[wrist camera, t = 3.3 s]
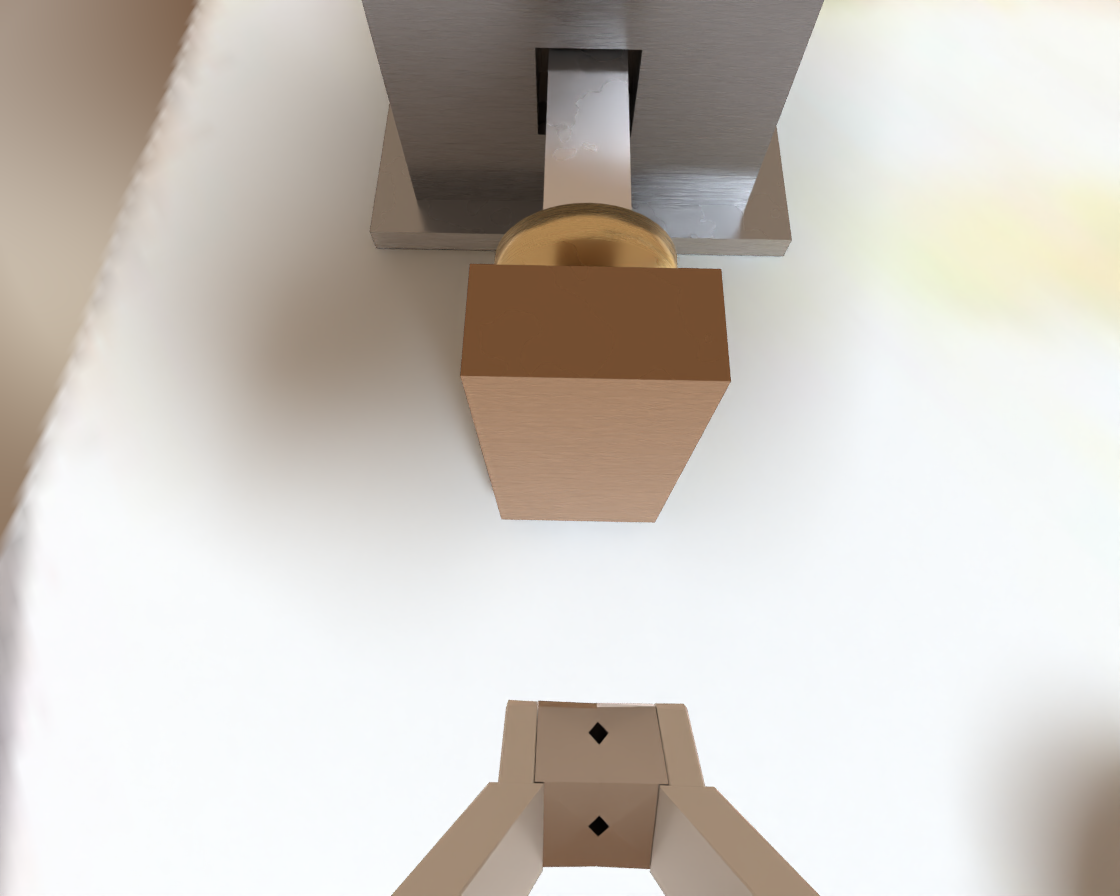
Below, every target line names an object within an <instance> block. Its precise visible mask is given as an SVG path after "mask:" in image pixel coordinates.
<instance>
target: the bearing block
mask: <svg viewBox="0 0 1120 896" xmlns="http://www.w3.org/2000/svg"><path fill="white" fill-rule="evenodd" d="M823 2H824V0H362V3H363V7H364V11H365V14H366V18H367V22H368V25H369V29H370V32H371V36H372V40H373V43H374V47H375V51H376V54H377V58H378V62H379V65H380V69H381V73H382V76H383V80H384V83H385V87H386V91H387V94H388V98H389V102H390V104H389V111H388V117H387V124H386V130H385V137H384V143H383V150H382V156H381V163H380V169H379V175H378V182H377V188H376V195H375V201H374V208H373V214H372V221H371V227H370V233H371V236H372V238H373V241H374V244H375V246H376V248H403V249H453V250H496V249H497V247H498V244H499V242H500V241H501V239H502V238H503V236H504V235H505V234H506V233H507V231H508V230H509V229H510V228H511V227H513V226H514V225H515V224H516V223H518V222H519V221H521V220H522V219H524V218H526V217H527V216H529V215H532V214H534V213H536V212H538V211H541V210H543V202H544V174H545V146H546V119H547V91H548V63H549V48H582V49H627V51H628V90H629V129H630V168H631V207H632V211H635V212H637V213H640V214H642V215H644V216H646V217H647V218H649V219H651V220H652V221H654V222H655V223H657V224H658V225H659V226H660V227H661V228H662V229H663V230H664V231H665V232H666V233H667V234H668V235H669V237H670V238H671V240H672V242H673V244H674V246H675V249H676V253H677V254H701V255H751V256H784V254H785V252H786V250H787V248H788V246H789V244H790V242H791V240H792V238H791V231H790V223H789V216H788V209H787V201H786V194H785V186H784V179H783V172H782V164H781V157H780V149H779V142H778V134H777V127H776V125H777V123H778V120H779V117H780V115H781V112H782V109H783V107H784V104H785V102H786V99H787V96H788V94H789V91H790V88H791V86H792V83H793V81H794V78H795V75H796V73H797V70H798V67H799V65H800V62H801V60H802V57H803V54H804V52H805V49H806V46H807V44H808V41H809V38H810V36H811V33H812V31H813V28H814V25H815V23H816V20H817V17H818V15H819V12H820V10H821V7H822V4H823Z"/></svg>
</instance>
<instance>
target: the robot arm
mask: <svg viewBox="0 0 1120 896" xmlns="http://www.w3.org/2000/svg"><path fill="white" fill-rule="evenodd" d="M587 866H597V867H618V868H638V869H650V873H651V874H652V876H653V877H654V879H655V880H656V882H657V883H658V885H659V887H660V888H661V890H662V891H663V893H664V894H665V896H820V895H819V894H818V893H817V892H816V891H815V890H814V889H813V888H812V887H811V886H810V885H809V884H808V883H807V882H806V881H805V880H804V879H803V878H802V877H801V876H800V875H799V874H798V873H797V872H796V871H795V870H794V868H793V867H792V866H791V865H790V864H789V863H788V862H787V861H786V860H785V859H784V858H783V857H782V856H781V855H780V854H779V853H778V852H777V851H776V850H775V849H774V848H773V847H772V846H771V845H770V844H769V843H768V842H767V841H766V840H765V839H764V838H763V837H762V836H761V834H760V833H759V832H758V831H757V830H756V829H755V828H754V827H753V826H752V825H751V824H750V823H749V822H748V821H747V820H746V819H745V818H744V817H743V816H742V815H741V814H740V813H739V812H738V811H737V810H736V809H735V808H734V807H733V806H732V805H731V804H730V803H729V802H728V800H727V799H726V798H725V797H724V796H723V795H722V794H721V793H720V792H719V791H718V790H717V789H716V788H715V787H706V786H705V784H704V779H703V775H702V771H701V766H700V762H699V758H698V753H697V749H696V745H695V741H694V736H693V732H692V728H691V723H690V719H689V715H688V710H687V708H686V706H685V705H684V704H654V705H653V704H642V703H575V702H553V701H538V702H537V701H517V700H508V703H507V706H506V714H505V723H504V732H503V742H502V751H501V760H500V770H499V779H498V782H489V783H488V784H487V786H486V787H485V788H484V789H483V790H482V791H481V792H480V794H479V795H478V796H477V797H476V798H475V799H474V801H473V802H472V803H471V804H470V805H469V806H468V807H467V809H466V810H465V811H464V812H463V813H462V814H461V816H460V817H459V818H458V819H457V820H456V821H455V823H454V824H453V825H452V826H451V827H450V828H449V829H448V831H447V832H446V833H445V834H444V835H443V836H442V838H441V839H440V840H439V841H438V842H437V843H436V845H435V846H434V847H433V848H432V849H431V850H430V851H429V853H428V854H427V855H426V856H425V857H424V858H423V860H422V861H421V862H420V863H419V864H418V865H417V866H416V868H415V869H414V870H413V871H412V872H411V873H410V875H409V876H408V877H407V878H406V879H405V880H404V882H403V883H402V884H401V885H400V886H399V887H398V888H397V890H396V891H395V892H394V893H393V894H392V895H391V896H528V895H529V893H530V891H531V890H532V888H533V886H534V885H535V883H536V881H537V879H538V878H539V876H540V874H541V873H542V871H543V867H587Z"/></svg>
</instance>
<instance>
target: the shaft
mask: <svg viewBox="0 0 1120 896" xmlns="http://www.w3.org/2000/svg"><path fill="white" fill-rule="evenodd" d="M460 376H461V380H462V383H463V387H464V390H465V394H466V397H467V401H468V404H469V408H470V411H471V415H472V418H473V422H474V425H475V429H476V432H477V436H478V439H479V443H480V446H481V450H482V453H483V456H484V460H485V463H486V467H487V470H488V474H489V477H490V481H491V484H492V488H493V491H494V495H495V498H496V502H497V505H498V509H499V512H500V516H501V519H510V520H559V521H607V522H655V521H656V519H657V517H658V515H659V514H660V512H661V510H662V508H663V506H664V504H665V503H666V501H667V499H668V497H669V495H670V493H671V491H672V490H673V488H674V486H675V484H676V482H677V480H678V478H679V477H680V475H681V473H682V471H683V469H684V467H685V465H686V464H687V462H688V460H689V458H690V456H691V454H692V452H693V451H694V449H695V447H696V445H697V443H698V441H699V439H700V438H701V436H702V434H703V432H704V430H705V428H706V426H707V425H708V423H709V421H710V419H711V417H712V415H713V413H714V412H715V410H716V408H717V406H718V404H719V402H720V401H721V399H722V397H723V395H724V393H725V391H726V389H727V388H728V386H729V384H730V382H731V377H730V366H729V354H728V342H727V330H726V319H725V307H724V295H723V283H722V271H721V269H698V268H677V253H676V249H675V246H674V244H673V242H672V240H671V238H670V237H669V235H668V234H667V233H666V232H665V231H664V230H663V229H662V228H661V227H660V226H659V225H658V224H657V223H655V222H654V221H652V220H651V219H649V218H647V217H646V216H644V215H642V214H640V213H637V212H635V211H632V207H631V168H630V129H629V90H628V51H627V49H582V48H549V63H548V91H547V119H546V146H545V174H544V202H543V210H541V211H538V212H536V213H534V214H532V215H529V216H527V217H526V218H524V219H522V220H521V221H519V222H518V223H516V224H515V225H514V226H513V227H511V228H510V229H509V230H508V231H507V233H506V234H505V235H504V236H503V238H502V239H501V241H500V242H499V244H498V247H497V249H496V254H495V261H494V264H470V267H469V279H468V291H467V302H466V314H465V326H464V338H463V350H462V362H461V374H460Z"/></svg>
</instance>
